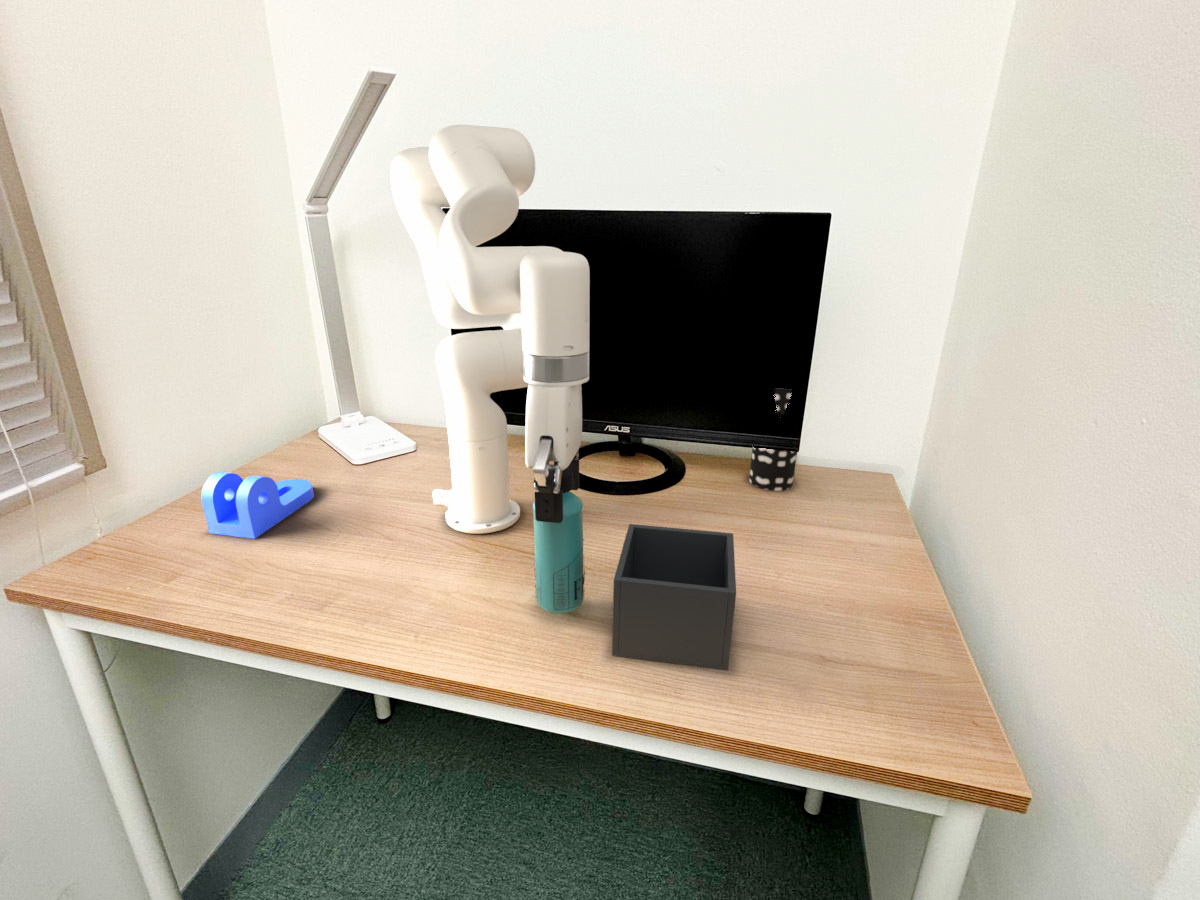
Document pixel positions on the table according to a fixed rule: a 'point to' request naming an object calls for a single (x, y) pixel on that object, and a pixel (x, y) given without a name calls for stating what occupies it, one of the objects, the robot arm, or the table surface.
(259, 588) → the table surface
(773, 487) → the white-spotted black cylinder
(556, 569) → the beverage bottle
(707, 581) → the open box
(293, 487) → the bracket
